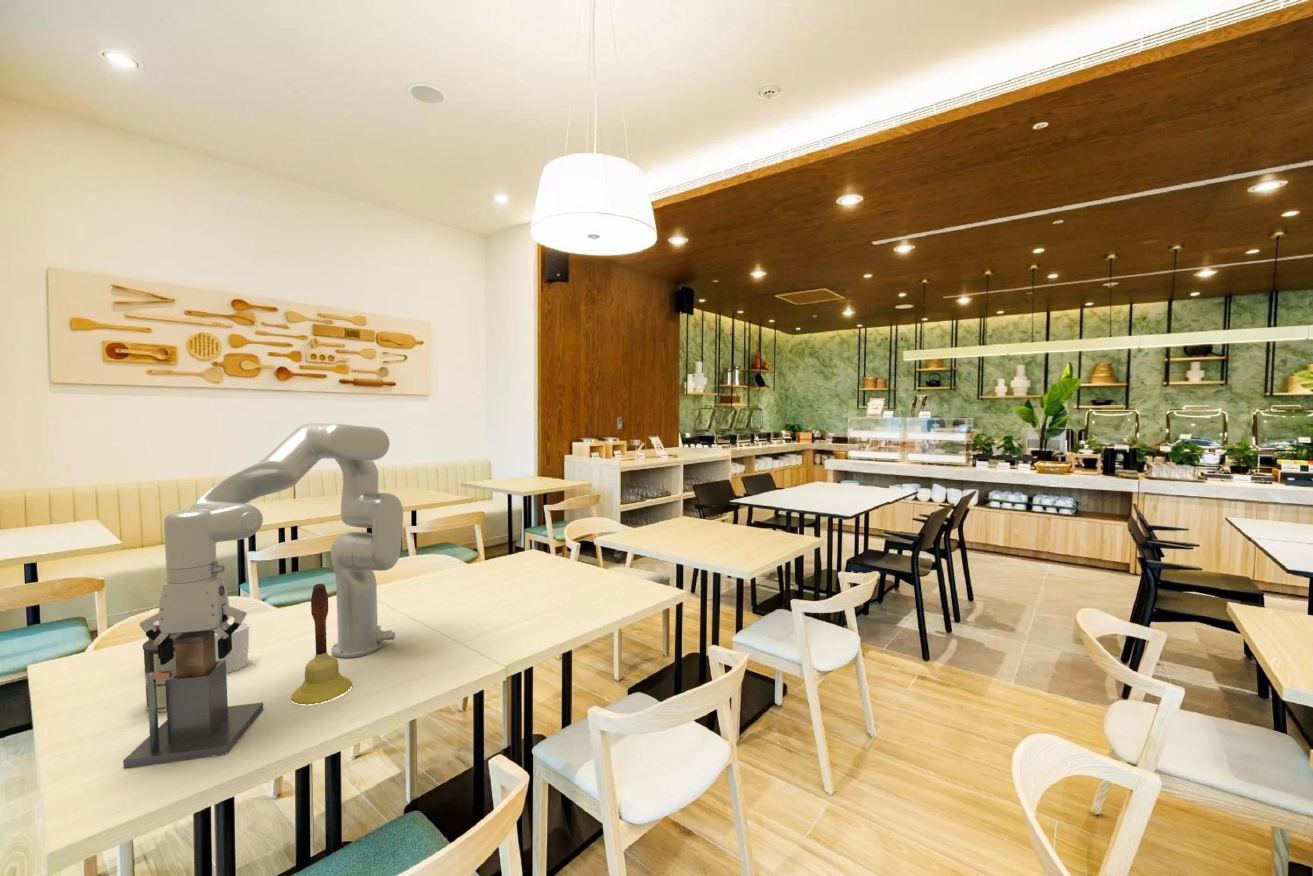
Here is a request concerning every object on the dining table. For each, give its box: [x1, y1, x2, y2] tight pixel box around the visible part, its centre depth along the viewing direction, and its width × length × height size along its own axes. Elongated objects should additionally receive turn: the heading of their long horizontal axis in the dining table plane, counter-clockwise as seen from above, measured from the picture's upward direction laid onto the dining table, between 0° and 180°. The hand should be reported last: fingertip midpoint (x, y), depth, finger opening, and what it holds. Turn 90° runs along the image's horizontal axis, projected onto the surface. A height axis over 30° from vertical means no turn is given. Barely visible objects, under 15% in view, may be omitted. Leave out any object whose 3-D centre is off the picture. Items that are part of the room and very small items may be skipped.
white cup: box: [215, 621, 250, 674], centre depth 138 cm, size 8×8×10 cm
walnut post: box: [173, 630, 216, 678], centre depth 109 cm, size 5×5×19 cm
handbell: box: [290, 583, 353, 705], centre depth 126 cm, size 12×12×25 cm
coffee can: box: [142, 633, 183, 713], centre depth 122 cm, size 10×10×14 cm
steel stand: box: [122, 660, 264, 769], centre depth 109 cm, size 16×16×16 cm
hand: (196, 658), depth 109 cm, fingers open, 9 cm apart
